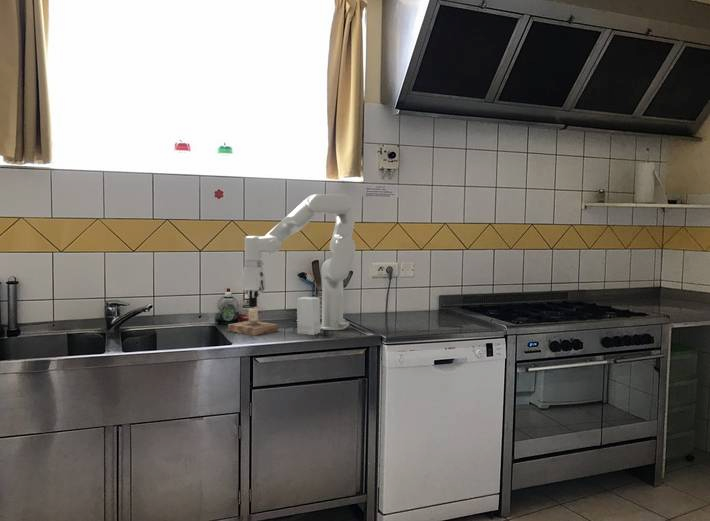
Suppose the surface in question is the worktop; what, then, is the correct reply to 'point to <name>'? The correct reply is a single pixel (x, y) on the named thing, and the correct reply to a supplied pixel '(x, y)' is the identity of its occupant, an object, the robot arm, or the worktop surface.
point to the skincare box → (308, 315)
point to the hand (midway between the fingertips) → (252, 306)
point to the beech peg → (253, 316)
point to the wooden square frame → (252, 328)
